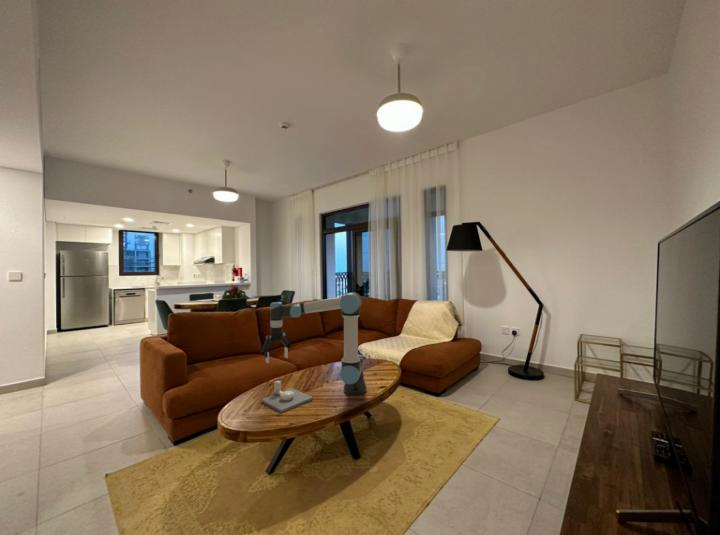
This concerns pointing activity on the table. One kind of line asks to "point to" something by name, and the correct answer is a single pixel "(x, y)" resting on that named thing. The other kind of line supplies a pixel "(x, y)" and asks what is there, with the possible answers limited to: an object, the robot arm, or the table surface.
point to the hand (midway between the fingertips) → (277, 360)
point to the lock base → (282, 405)
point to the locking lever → (283, 395)
